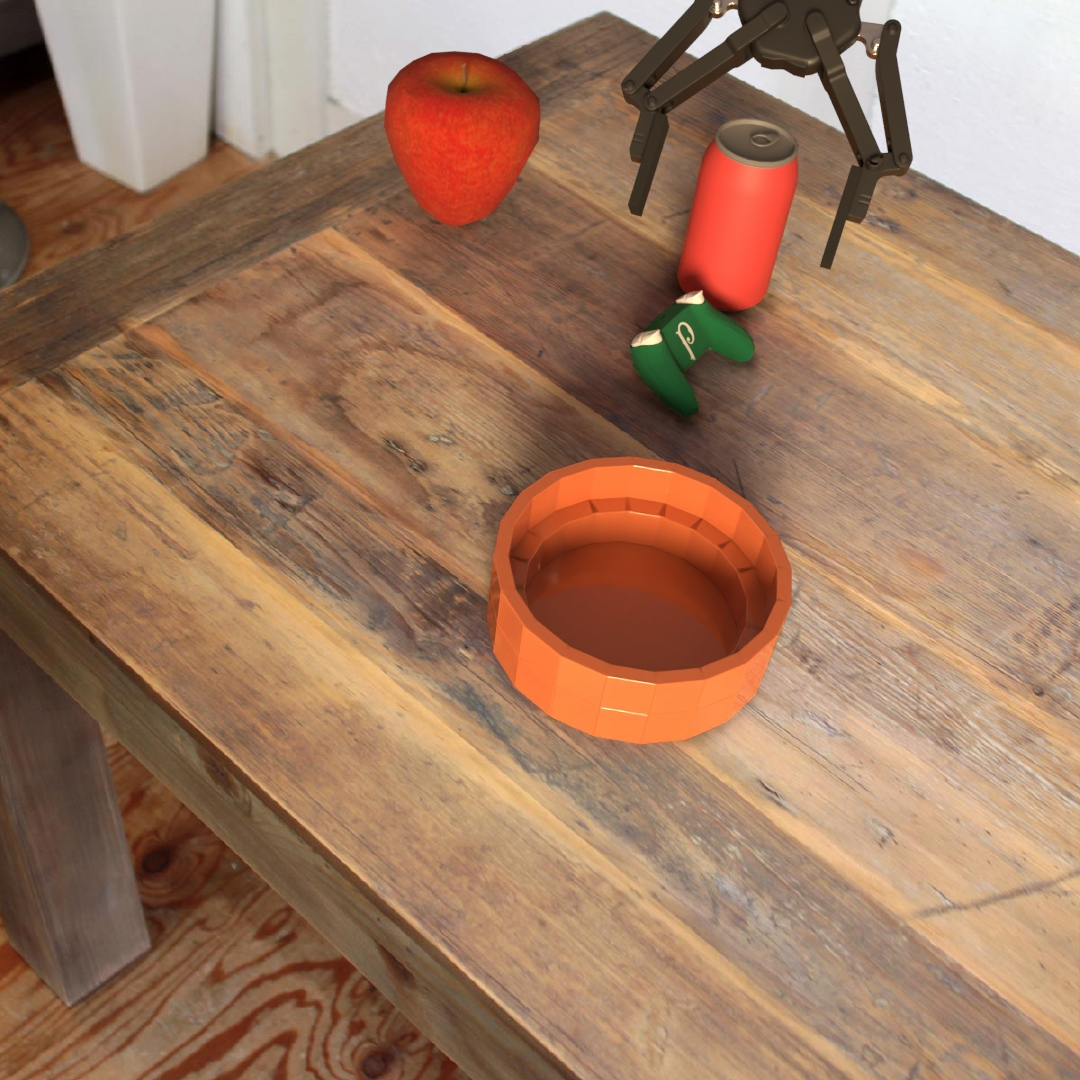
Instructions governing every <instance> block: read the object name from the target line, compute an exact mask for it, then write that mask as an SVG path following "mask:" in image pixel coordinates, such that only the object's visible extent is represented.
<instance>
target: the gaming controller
mask: <svg viewBox="0 0 1080 1080" xmlns="http://www.w3.org/2000/svg"><path fill="white" fill-rule="evenodd" d="M702 293H703V291H702V290H701V291H693V292H691V293H687V294H686V293H685V294H683V295H681V296H680V297H678V298H677V299H676V300H675V303H673V304H672V305H670V306H669V307H667V308H666V309H664V311H662V312H661V313H660V314H659V315H658V316H656V317H655V318H654V319H653V320H652V321H651V322H650V323H649V324H648V325H647V326H646V327H645V328H644V329H643V331H641V332H640V333H638V334H637V335H636V336H635V337H634V338H633V339H632V341H631V343H630V344H629V353H630V357H631V360H632V367H633V369H634V371H635V372H636V373H637V375H638V376H639V378H640V379H641V380H642V382H643V383H644V384H645V385H646V387H647V388H648V389H649V390H650V391H651V392H652V394H654V396H655V397H657V399H659V400H660V401H661V402H662V403H663V404H664V405H665V406H666V407H667V408H668V409H670V410H671V411H673V412H674V413H675V414H676V415H678V416H680V417H681V418H682V419H684V420H688V419H689V418H691V417H692V416H694V415H696V414H697V413H699V411H700V406H699V402H698V399H697V396H696V393H695V390H694V388H693V386H692V384H691V383H690V382H689V380H688V379H687V377H686V375H685V374H684V373H685V372H686V371H688V370H689V369H690V368H691V367H692V366H693V365H694V364H695V363H696V362H697V361H699V359H700V358H701V357H702V356H703V355H704V354H705V353H706V352H707V351H708V350H710V351H712V352H715V353H717V354H719V355H720V356H723V357H725V358H727V359H729V360H732V361H734V362H740V363H746V362H748V361H750V360H751V359H752V358H753V356H754V354H755V349H756V345H755V341H754V338H753V337H752V336H751V335H750V333H749V332H748V331H747V330H746V328H745V327H743V326H742V325H741V324H739V323H738V322H737V321H736V320H734V319H733V318H732V317H730V316H728V315H727V314H725V313H723V311H720V310H717V309H716V308H714V307H713V306H712V305H711V304H710V303H709V302H708V301H707V300H706V298H705V297H704V296H703V294H702Z"/></svg>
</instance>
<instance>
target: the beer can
mask: <svg viewBox="0 0 1080 1080" xmlns="http://www.w3.org/2000/svg"><path fill="white" fill-rule="evenodd" d="M714 133H715V134H714V137H713V138H712V140H711V141H710V142H709V144H708V145H707V147H706V148H705V150H704V153H703V155H702V157H701V162H700V168H699V171H698V176H697V179H696V185H695V189H694V194H693V199H692V202H691V209H690V212H689V217H688V222H687V227H686V231H685V236H684V241H683V245H682V250H681V255H680V259H679V264H678V267H677V268H678V269H677V274H676V278H677V281H678V283H679V287H680V289H681V290H682V291H683V292H684V293H685V294H687V293H691V292H693V291H701V290H702V291H703V293H702V294H703V296H704V297H705V298H706V300H707V301H708V302H709V303H710V304H711V305H712V306H713V307H714V308H716V309H717V310H719V311H720V312H739V311H744V310H748V309H750V308H752V307H754V306H756V305H758V304H759V303H761V302H762V300H763V299H764V298H765V297H766V295H767V293H768V291H769V286H770V282H771V279H772V275H773V271H774V268H775V265H776V261H777V257H778V254H779V251H780V246H781V244H782V240H783V236H784V233H785V229H786V226H787V222H788V218H789V215H790V211H791V208H792V204H793V200H794V196H795V194H796V190H797V186H798V181H799V166H800V165H799V159H798V154H799V143H798V141H797V138H795V137H794V135H793V134H792V133H790V131H789V130H788V129H785V128H784V127H782V126H780V125H779V124H777V123H774V122H771V121H769V120H765V119H760V118H756V117H755V118H753V117H750V118H749V117H741V118H734V119H730V120H727V121H725V122H723V123H721V124H720V125H719V126H718V127H717V128H716V130H715V132H714Z"/></svg>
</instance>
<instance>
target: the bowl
mask: <svg viewBox="0 0 1080 1080" xmlns="http://www.w3.org/2000/svg"><path fill="white" fill-rule="evenodd" d="M491 562H492V563H491V572H490V580H489V587H488V588H489V590H488V597H487V598H488V599H487V608H486V617H485V618H486V622H487V628H488V633H489V639H490V643H491V648H492V652H493V655H494V656H495V658H496V660H497V661H498V663H499V664H500V665H501V668H502V669H503V670H504V672H505V674H506V675H507V677H508V678H509V680H510V682H511V683H512V686H513V687H514V688H515V689H517V691H519V692H520V694H522V695H523V696H525V698H527V699H528V700H530V702H532V703H533V704H534V705H536V706H537V708H539V709H540V710H541V711H542V712H544V713H545V714H546V715H547V716H549V717H550V718H552V719H554V720H556V721H558V722H561V723H563V724H565V725H568V726H569V727H572V728H574V729H576V730H579V731H581V732H582V733H585V734H587V735H589V736H593V737H595V738H602V739H607V740H615V741H620V742H626V743H631V744H637V745H646V744H655V743H656V744H657V743H666V742H675V741H684V740H685V741H686V740H688V739H690V738H693V737H695V736H697V735H700V734H703V733H704V732H707V731H709V730H712V729H715V728H716V727H719V726H721V725H723V724H725V723H727V722H728V721H730V720H731V719H732V718H733V717H734V716H735V715H736V714H737V713H738V712H739V711H740V710H741V709H742V708H743V707H744V706H746V705H747V704H748V703H749V702H750V701H751V700H752V699H753V698H755V696H756V694H757V692H758V690H759V688H760V685H761V684H762V681H763V679H764V676H765V674H766V672H767V670H768V668H769V666H770V662H771V661H772V657H773V655H774V652H775V649H776V647H777V644H778V642H779V639H780V637H781V634H782V631H783V628H784V626H785V624H786V620H787V618H788V615H789V613H790V611H791V607H792V604H793V569H792V566H791V563H790V561H789V558H788V555H787V554H786V551H785V547H784V545H783V544H782V540H781V538H780V536H779V534H778V533H777V532H776V531H775V529H774V528H773V527H772V526H771V524H770V523H769V522H768V520H766V519H765V517H764V516H763V515H762V513H760V511H759V510H758V509H757V508H756V507H755V505H754V504H752V503H751V502H750V501H749V500H748V499H746V498H744V497H743V496H742V495H740V494H738V492H736V491H734V490H733V489H731V488H730V487H729V486H727V485H726V484H725V483H723V482H721V481H720V480H719V479H717V478H715V477H713V476H711V475H708V474H706V473H703V472H700V471H698V470H695V469H693V468H690V467H688V466H685V465H682V464H680V463H676V462H673V461H665V460H659V459H653V458H647V457H642V456H641V457H640V456H633V455H628V456H627V455H626V456H613V457H612V456H611V457H609V456H608V457H594V458H593V457H592V458H587V459H585V460H582V461H578V462H576V463H573V464H569V465H566V466H563V467H560V468H556V469H553V470H550V471H548V472H547V473H546V474H544V475H543V476H541V477H540V478H539V479H537V480H536V481H534V482H533V483H531V484H530V485H529V486H527V487H526V488H524V489H522V490H521V491H520V492H519V494H518V495H517V497H516V498H515V500H513V502H512V503H511V505H510V507H509V508H508V509H507V511H506V512H505V513H504V515H503V516H502V518H501V519H500V522H499V525H498V530H497V533H496V539H495V545H494V549H493V554H492V561H491Z"/></svg>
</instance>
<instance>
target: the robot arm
mask: <svg viewBox="0 0 1080 1080" xmlns="http://www.w3.org/2000/svg"><path fill="white" fill-rule="evenodd" d="M863 1H864V0H693V3H691V5H690V6H689V7H688V8H687V9H686V10H685V11H684V13H683V14H682V15H681V16H680V17H679V18H678V19H677V20H676V21H675V23H673V24H672V26H671V27H670V28H669V29H667V31H666V32H665V33H664V34H663V35H662V37H661V38H660V39H659V40H658V41H657V42H656V43H655V44H654V45H653V46H652V48H650V49H649V51H648V52H647V53H646V54H645V55H644V56H643V57H642V59H640V61H639V62H638V63H637V64H636V65H635V66H634V67H633V68H632V69H631V70H630V72H628V74H627V75H626V76H625V77H624V78H623V79H622V80H621V83H620V88H621V91H622V95H623V99H624V101H625V102H626V104H628V105H630V106H633V107H634V108H636V109H637V110H638V111H639V116H638V120H637V122H636V126H635V128H634V132H633V134H632V139H631V142H630V145H629V157H630V159H631V162H633V163H637V164H640V165H639V168H638V170H637V173H636V177H635V180H634V184H633V187H632V190H631V192H630V197H629V200H628V203H627V207H628V209H629V213H630V214H631V215H633V216H637V217H640V218H642V216H643V213H644V210H645V206H646V205H647V204H646V203H647V200H648V198H649V197H648V196H649V194H650V191H651V187H652V184H653V182H654V178H655V175H656V172H657V168H658V165H659V162H660V158H661V155H662V152H663V149H664V145H665V143H666V140H667V136H668V132H669V129H670V123H669V118H668V115H667V114H669V113H670V112H671V111H673V110H675V109H676V108H678V107H679V106H681V105H682V104H684V103H685V102H686V101H688V100H690V99H691V98H692V97H695V95H697V94H698V93H700V92H702V91H703V90H704V89H705V88H707V87H709V86H710V85H711V84H713V83H715V82H716V81H717V80H719V79H721V78H722V77H723V76H725V75H726V74H727V73H729V72H730V71H732V70H734V69H737V68H739V67H742V66H743V65H745V64H746V63H748V62H749V61H750V60H752V59H754V60H755V61H756V62H757V63H758V64H760V68H764V69H768V70H779V71H780V70H783V71H785V72H787V73H788V74H790V75H793V76H795V77H799V78H802V79H805V77H807V76H812V75H815V74H817V76H818V78H819V81H820V83H821V84H822V87H823V90H824V91H825V92H826V93H827V96H828V98H829V100H830V102H831V105H832V107H833V109H834V112H835V114H836V117H837V118H838V120H839V123H840V126H841V127H842V130H843V133H844V134H845V137H846V139H847V141H848V144H849V146H850V148H851V151H852V153H853V155H854V158H855V160H856V162H857V164H858V165H854V164H851V166H850V169H849V173H848V176H847V179H846V181H845V186H844V188H843V192H842V195H841V197H840V201H839V204H838V207H837V210H836V213H835V216H834V220H833V222H832V226H831V229H830V232H829V235H828V237H827V241H826V244H825V247H824V251H823V254H822V257H821V261H820V264H819V267H820V268H822V269H826V270H829V271H831V269H832V266H833V262H834V260H835V256H836V253H837V250H838V247H839V244H840V240H841V238H842V234H843V232H844V228H845V225H846V222H847V221H848V222H851V223H855V224H859V225H860V224H862V222H863V221H864V220H865V219H866V217H867V213H868V210H869V208H870V205H871V201H872V199H873V195H874V192H875V190H876V187H877V183H878V182H879V180H880V179H881V178H884V177H888V176H889V177H890V176H891V177H892V176H895V177H898V178H899V177H900V178H901V177H904V176H906V175H907V173H908V172H909V170H910V167H911V165H912V163H913V161H914V154H913V149H912V142H911V136H910V130H909V124H908V118H907V111H906V105H905V99H904V91H903V87H902V80H901V75H900V74H901V73H900V67H899V62H898V49H899V45H900V44H899V43H900V39H901V33H902V23H901V22H900V21H899V20H898V19H894V18H891V19H888V20H887V21H885V22H884V23H876V22H870V21H869V22H868V21H862V18H861V12H860V11H861V8H862V3H863ZM731 10H736V11H737V15H738V18H739V22H740V24H741V26H740V27H739V28H737V29H736V30H735V31H733V32H732V33H730V34H729V35H728V36H727V37H726V38H725V40H724V41H722V42H721V43H720V44H718V45H717V46H715V47H714V48H712V49H711V50H709V51H708V52H706V53H705V54H704V55H702V56H701V57H699V58H698V59H696V60H695V61H694V62H692V63H690V64H689V65H688V66H686V67H684V68H683V69H681V70H680V71H678V72H677V73H676V74H674V75H672V76H671V77H670V78H668V79H667V80H665V81H664V82H662V83H661V84H659V85H657V86H656V87H655V88H654V89H653V87H654V86H655V85H656V84H657V83H658V82H659V81H660V80H661V79H662V78H663V76H665V74H666V73H667V72H668V71H669V70H670V69H671V68H672V67H673V65H674V64H676V62H677V61H678V60H679V59H680V58H681V57H682V56H683V55H684V53H686V51H687V50H688V49H689V48H690V47H691V46H692V45H693V44H694V43H695V42H696V40H697V39H698V38H700V36H701V35H702V34H703V33H704V32H705V30H706V29H707V28H708V26H709V25H710V23H711V22H712V20H713V19H715V20H716V19H717V20H718V19H722V18H723V17H724V16H725V15H726V13H727V12H729V11H731ZM856 42H860V43H862V44H863V46H864V47H865V54H866V56H867V58H869V59H871V60H875V62H874V63H875V64H874V73H875V82H876V87H877V95H878V100H879V106H880V114H881V119H882V125H883V131H884V137H885V143H886V151H887V152H881V149H880V147H879V145H878V143H877V141H876V138H875V135H874V134H873V131H872V129H871V126H870V124H869V122H868V120H867V118H866V114H865V112H864V110H863V108H862V106H861V103H860V101H859V99H858V97H857V94H856V92H855V90H854V87H853V85H852V83H851V80H850V78H849V75H848V72H847V69H846V66H845V63H844V60H843V58H842V56H841V55H842V54H844V53H845V52H846V51H848V49H850V48H851V47H852V46H854V45H855V44H856ZM651 89H652V90H651Z"/></svg>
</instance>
